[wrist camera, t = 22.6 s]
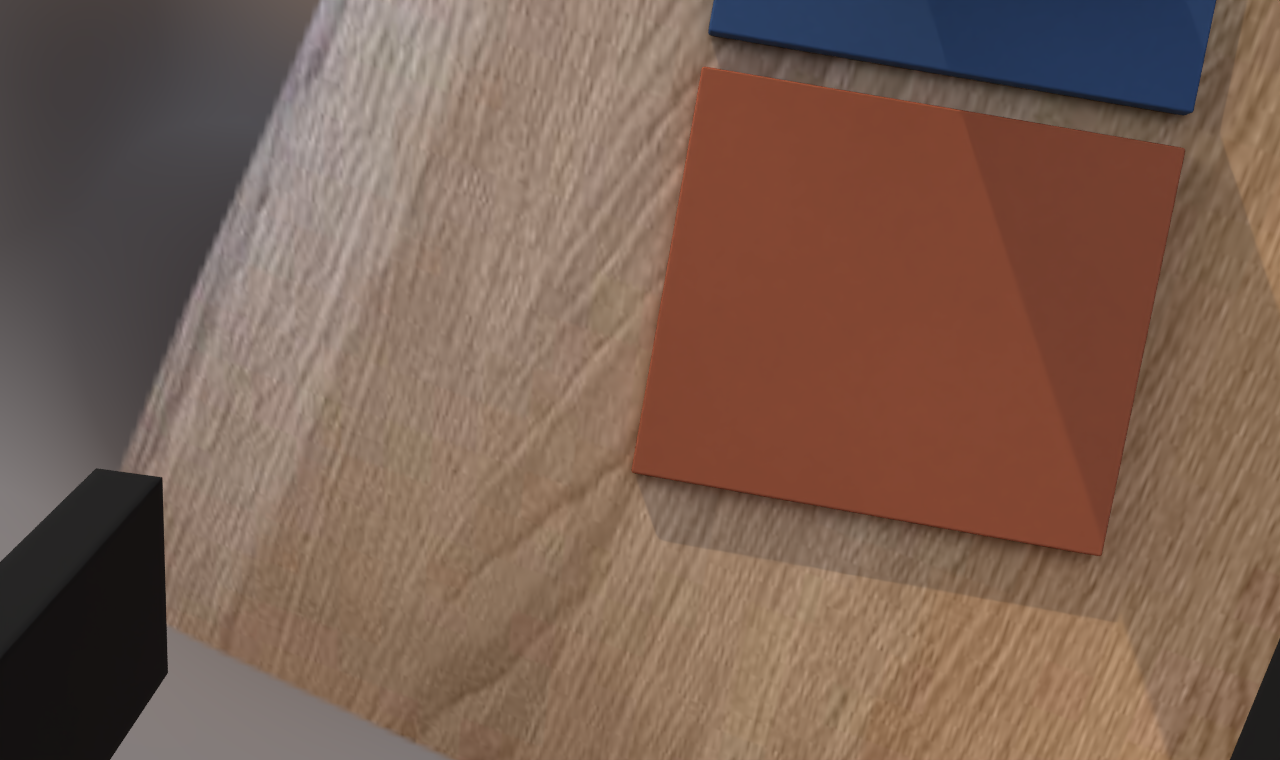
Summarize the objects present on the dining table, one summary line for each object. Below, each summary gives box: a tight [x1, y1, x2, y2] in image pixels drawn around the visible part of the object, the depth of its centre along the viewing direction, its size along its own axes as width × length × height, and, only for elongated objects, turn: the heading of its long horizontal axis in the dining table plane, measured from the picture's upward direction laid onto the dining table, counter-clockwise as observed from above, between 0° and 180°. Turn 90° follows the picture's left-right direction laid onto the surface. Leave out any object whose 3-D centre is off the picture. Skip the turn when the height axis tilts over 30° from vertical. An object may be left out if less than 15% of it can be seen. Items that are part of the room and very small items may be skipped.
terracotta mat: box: [632, 67, 1185, 556], centre depth 35 cm, size 14×12×1 cm
